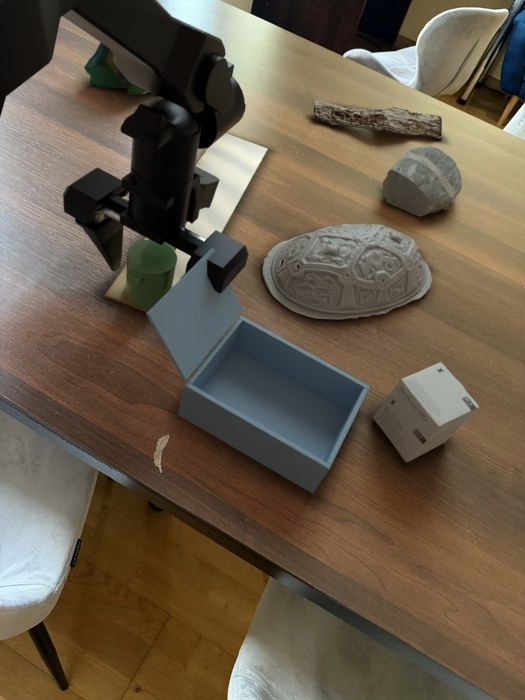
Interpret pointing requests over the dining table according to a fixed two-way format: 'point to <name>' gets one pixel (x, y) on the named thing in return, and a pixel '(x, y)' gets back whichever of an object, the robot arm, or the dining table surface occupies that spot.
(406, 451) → the white cardboard box
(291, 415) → the carton
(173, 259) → the pot
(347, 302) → the turtle shell
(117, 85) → the sculpture
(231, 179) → the board
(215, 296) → the flap
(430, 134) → the driftwood
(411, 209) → the decorative stone
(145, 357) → the dining table surface
